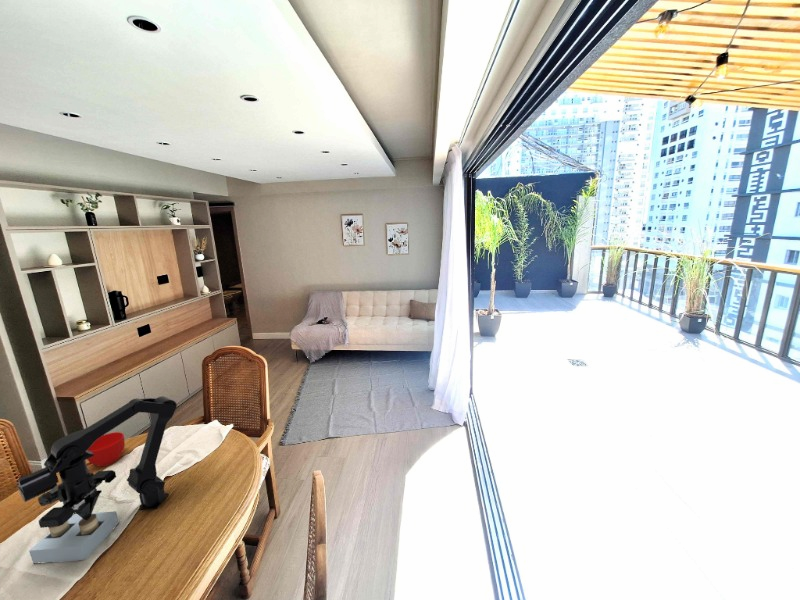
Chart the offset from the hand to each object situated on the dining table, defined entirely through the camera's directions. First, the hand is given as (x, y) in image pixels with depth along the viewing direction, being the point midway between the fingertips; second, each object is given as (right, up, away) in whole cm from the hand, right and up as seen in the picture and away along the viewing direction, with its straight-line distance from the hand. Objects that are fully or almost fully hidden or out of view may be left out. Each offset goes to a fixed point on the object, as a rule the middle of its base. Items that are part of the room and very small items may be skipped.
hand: (87, 518), depth 96 cm
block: (-4, -9, +2) cm, 10 cm away
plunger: (-9, -6, +1) cm, 10 cm away
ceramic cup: (-31, -3, +36) cm, 48 cm away
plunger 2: (0, -5, +1) cm, 5 cm away
